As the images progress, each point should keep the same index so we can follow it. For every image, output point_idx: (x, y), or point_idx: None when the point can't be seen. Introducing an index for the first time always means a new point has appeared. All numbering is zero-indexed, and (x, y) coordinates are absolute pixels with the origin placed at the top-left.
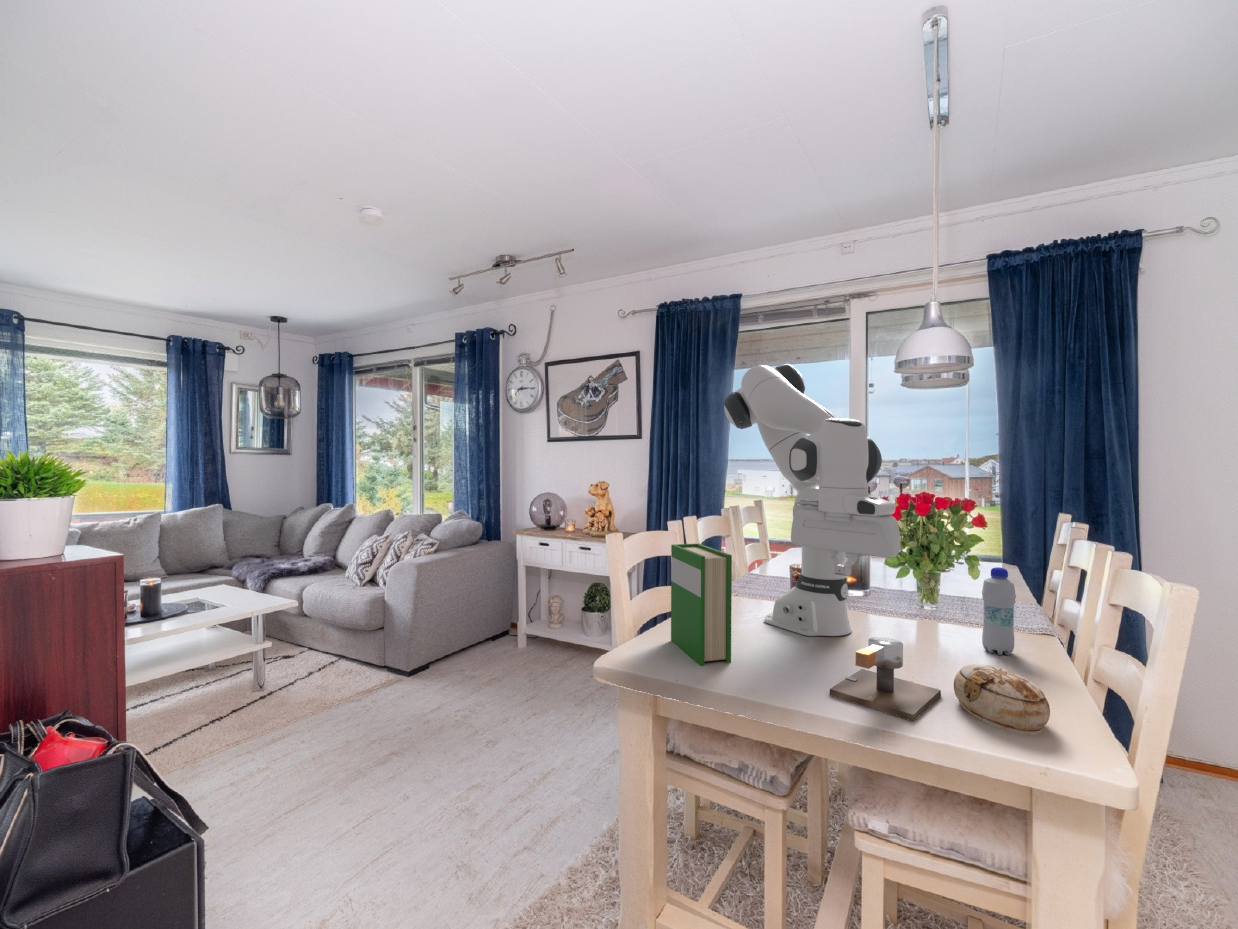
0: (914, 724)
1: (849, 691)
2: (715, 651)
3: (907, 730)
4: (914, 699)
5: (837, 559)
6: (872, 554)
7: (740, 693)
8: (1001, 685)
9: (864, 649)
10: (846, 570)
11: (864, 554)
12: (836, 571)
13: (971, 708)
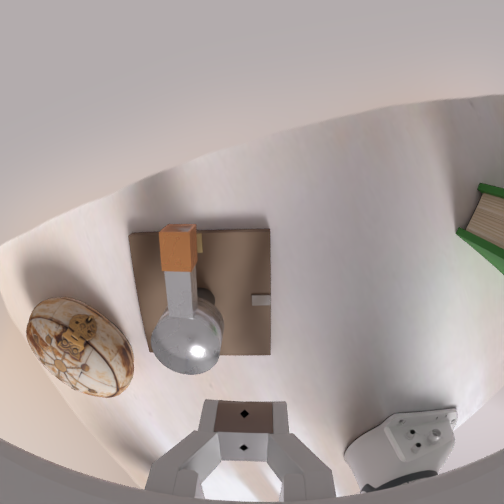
0: (128, 225)
1: (238, 247)
2: (483, 216)
3: (125, 197)
4: (153, 293)
5: (280, 478)
6: (17, 451)
7: (384, 120)
8: (48, 333)
9: (183, 263)
10: (203, 416)
11: (59, 465)
12: (263, 409)
13: (95, 314)
